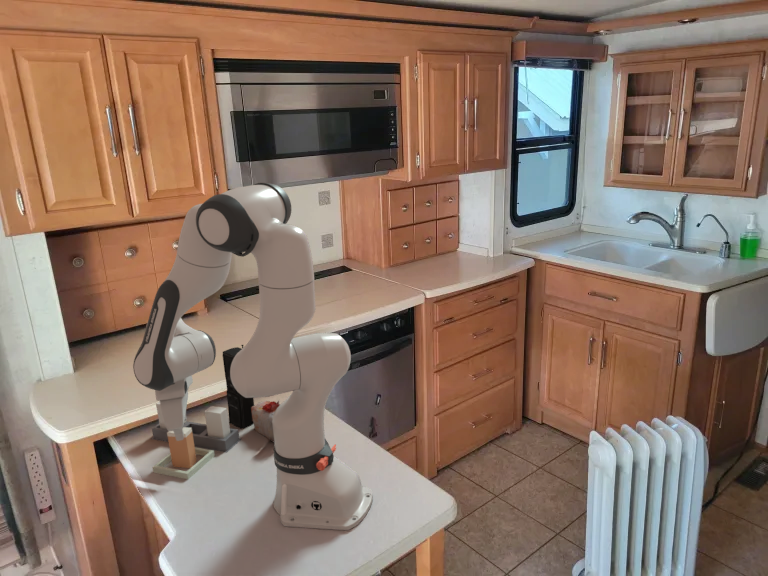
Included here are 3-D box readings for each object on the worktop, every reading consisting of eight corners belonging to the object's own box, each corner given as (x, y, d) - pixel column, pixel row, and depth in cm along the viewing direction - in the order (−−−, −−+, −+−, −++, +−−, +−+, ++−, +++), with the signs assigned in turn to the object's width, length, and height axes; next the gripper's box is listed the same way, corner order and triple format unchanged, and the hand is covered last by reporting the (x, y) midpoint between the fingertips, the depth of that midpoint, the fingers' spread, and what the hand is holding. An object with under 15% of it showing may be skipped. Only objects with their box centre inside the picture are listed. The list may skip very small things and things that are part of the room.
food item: (249, 432, 160) (245, 400, 157) (273, 421, 165) (269, 390, 163) (278, 449, 151) (274, 416, 148) (302, 437, 156) (299, 404, 153)
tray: (215, 459, 147) (214, 450, 147) (188, 482, 138) (187, 473, 137) (182, 452, 151) (180, 444, 150) (154, 475, 141) (152, 466, 141)
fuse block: (242, 441, 155) (237, 405, 152) (227, 455, 149) (222, 418, 146) (168, 429, 163) (162, 394, 160) (151, 442, 157) (144, 406, 154)
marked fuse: (197, 462, 145) (191, 427, 142) (191, 469, 142) (185, 433, 140) (179, 461, 146) (173, 426, 143) (173, 467, 143) (166, 432, 141)
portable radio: (226, 424, 165) (215, 344, 158) (243, 416, 169) (233, 337, 162) (242, 432, 160) (231, 350, 153) (259, 423, 164) (250, 343, 157)
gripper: (163, 366, 147) (171, 414, 150) (154, 397, 128) (164, 452, 131) (188, 362, 148) (196, 410, 152) (183, 392, 129) (192, 447, 133)
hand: (181, 430), depth 141 cm, fingers open, 8 cm apart
